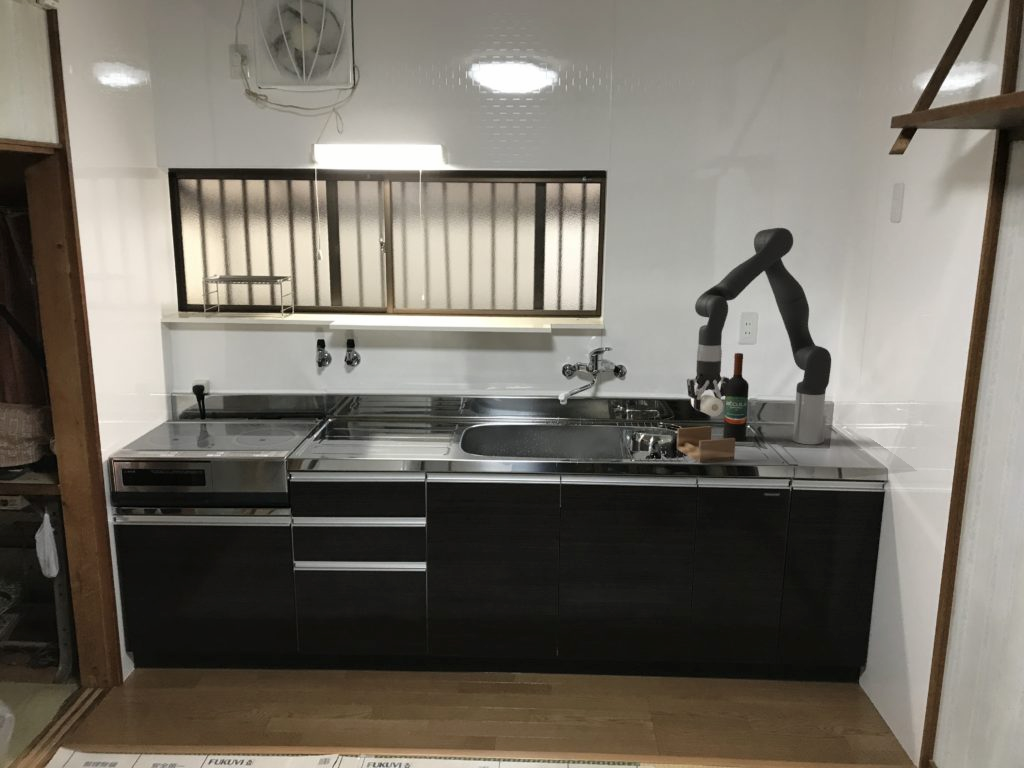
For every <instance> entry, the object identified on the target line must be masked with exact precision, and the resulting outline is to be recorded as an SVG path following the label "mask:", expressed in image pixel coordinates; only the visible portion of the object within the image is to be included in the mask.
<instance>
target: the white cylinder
mask: <svg viewBox="0 0 1024 768" xmlns="http://www.w3.org/2000/svg"><path fill="white" fill-rule="evenodd" d="M690 398H691V397H690ZM700 400H701V403H700V411H699V412H702V413H704V414H706V415H708V416H709V417H713V418H714V417H718V416H720V414H722V412H723V410H724V403H723V401H722V399H721V400H720V399H718V398H716V397H715V396H714V395H710V394H709V393H706V392H704V393H703V394H702V396H701V398H700ZM690 404H691V406H692V407H693V409H694V398H691V399H690Z"/></svg>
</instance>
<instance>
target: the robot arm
mask: <svg viewBox="0 0 1024 768" xmlns="http://www.w3.org/2000/svg"><path fill="white" fill-rule="evenodd" d="M793 245H794V237H793V234H792V232H791V231H790V230H789V229H788V228H784V227H774V228H766V229H762V230H760V231H758V232H756V234H755V236H754V239H753V247H754V251H755V254H754V255H753V256H751V257H749V258H747V259H746V260H745V261H743V262H741V263H740V264H738V265H737V266H736V267H734V268H732V270H731V271H729V272H728V273H727V274H726V276H724V277H723V278H722V280H721V281H719V282H718V283H717V284H715V285H713V286H712V287H710V288H709V289H708V290H706V291H704V292H703V293H702V294H701V295H700V296H699V297H698V298H697V300H696V301H695V304H694V308H695V312H696V314H697V315H698V316H700V317H703V318H708V321H707V323H706V325H705V324H704V325H701V326H700V328H699V330H698V341H697V342H698V344H697V351H696V376H695V378H688V379H686V385H687V396H688V397H690V398H694V408H693V410H695V411H697V412H701V411H700V403H701V400H700V398H701V396H702V394H703V393H705V392H706V391H709V390H710V391H711V392H712V393H713V397H716V398H718V399H720V400H721V401H722V399H721V398H722V397H725V396H726V395H727V389H728V384H729V379H730V378H729V377H727V376H721V373H722V371H721V370H722V358H723V356H722V354H723V353H722V351H723V350H722V337H723V335H722V333H723V330H724V327H725V323H726V320H727V318H728V314H729V304H728V301H733V300H735V299H736V298H737V297H738V296H739V295H741V293H742V292H744V290H745V289H746V288H747V287H748V286H750V284H751V283H752V282H753V281H754V280H755V279H756V278H757V277H758V276H760V275H761V274H762V273H763V272H764V273H765V275H766V277H767V280H768V283H769V285H770V288H771V291H772V293H773V297H774V299H775V303H776V305H777V309H778V311H779V314H780V316H781V319H782V322H783V324H784V327H785V330H786V333H787V336H788V340H789V342H790V343H789V344H790V348H791V351H792V352H791V353H792V357H793V360H794V363H795V365H796V366H797V367H798V369H800V370H802V371H804V372H803V379H802V381H799V382H798V383H797V385H796V391H795V406H794V418H793V420H794V421H793V435H792V440H793V442H795V443H799V444H803V445H819V444H822V443H825V437H826V425H827V424H826V423H827V415H826V414H825V402H826V401H825V400H826V392H827V391H826V390H827V388H828V385H829V384H830V383H829V382H830V377H831V369H832V357H831V356H832V355H831V353H830V351H829V350H828V349H827V348H825V347H823V346H820V345H817V344H815V342H814V340H813V338H812V335H811V332H810V329H809V328H810V327H809V318H810V306H809V303H808V300H807V297H806V296H807V295H806V293H805V290H804V288H803V287H802V285H801V284H800V282H799V281H798V280H797V279H796V278H795V277H794V276H793V275H792V274H791V272H789V270H788V269H787V268H786V267H785V265H784V262H783V260H782V259H783V258H784V256H786V255H787V254H788V253H789V252H790V251H791V249H792V248H793ZM719 383H720V388H719ZM696 384H697V385H696ZM695 386H696V388H695Z"/></svg>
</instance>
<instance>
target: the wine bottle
mask: <svg viewBox="0 0 1024 768" xmlns="http://www.w3.org/2000/svg"><path fill="white" fill-rule="evenodd" d="M733 357H734V363H733V375H732V377H731V378H729V384H728V389H727V395H726V396H724V413H723V430H722V431H723V433H722V434H723V435H722V437H723V438H722V439H725V438H735V442H744V441H746V440H747V439H746V438H747V423H748V407H749V406H748V403H749V387H750V386H749V382H748V381H747V379H745V378H744V377H743V363H744V362H743V361H744V353H742V352H741V353H740V352H735V353H734V356H733Z"/></svg>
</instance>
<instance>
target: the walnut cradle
mask: <svg viewBox="0 0 1024 768" xmlns="http://www.w3.org/2000/svg"><path fill="white" fill-rule="evenodd" d="M712 428H713V427H712V426H711V425H706V426H694V427H693V426H692V427H681V428H677V429H676V431H677V432H676V450H677V451H679V452H681V453H682V454H684V455H686V456H688V457H689V458H691V459H692V458H693V460H694V459H695V460H694V461H696V462H697V461H699V462H706V463H709V462H708V461H716V462H724V461H726V460H727V461H735V451H736V449H735V448H736V441H735V438H725V439H724V438H717V439H716V438H715V439H712ZM727 461H726V462H727ZM699 462H698V463H699Z"/></svg>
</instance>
